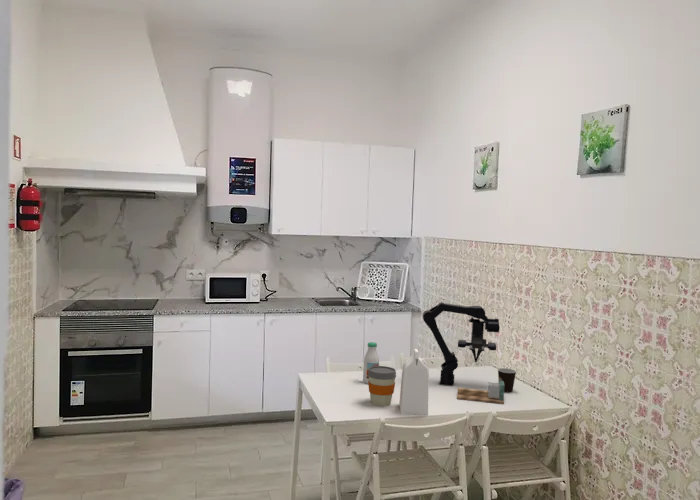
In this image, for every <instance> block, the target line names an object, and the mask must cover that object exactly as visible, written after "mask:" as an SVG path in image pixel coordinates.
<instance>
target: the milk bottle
mask: <svg viewBox="0 0 700 500" xmlns="http://www.w3.org/2000/svg"><path fill="white" fill-rule="evenodd" d="M377 346H378V344H377V343H376V342H373V341H372V342H371V341H370V342H367V351H366V353H365V355H364V357H363V358H364V359H363V367H362V368H363V369H362V370H363V371H362V372H363V374H362V381H363V384H366V385H368V381H369V376H368V371H369V368H370V367H374V366H380V357H379V354H378V351H377V348H378V347H377Z"/></svg>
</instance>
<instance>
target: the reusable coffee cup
mask: <svg viewBox="0 0 700 500" xmlns="http://www.w3.org/2000/svg"><path fill="white" fill-rule="evenodd" d="M368 376H369V381H368V384H367V385H368V392H369V395H370V396H369V397H370V403H371V405H373V406H378V407H387V406H390V405H391V404H392V398H393V394H394V393H395V392H394V391H395V387H396V382H395V381H396V378H397V370H396V369H395V368H394V367H390V366H385V365H379V366H374V367H370V368H369V371H368Z"/></svg>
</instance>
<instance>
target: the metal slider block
mask: <svg viewBox="0 0 700 500" xmlns="http://www.w3.org/2000/svg"><path fill="white" fill-rule="evenodd" d="M487 384H488V385H487V391H488V398H495V399H499V392H500V385H499V382H488V383H487Z"/></svg>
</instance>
